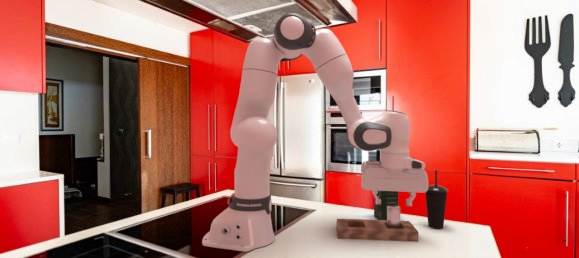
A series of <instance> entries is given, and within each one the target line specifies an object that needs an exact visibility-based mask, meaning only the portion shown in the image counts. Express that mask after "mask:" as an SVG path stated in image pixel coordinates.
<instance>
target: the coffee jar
mask: <svg viewBox="0 0 579 258" xmlns="http://www.w3.org/2000/svg"><path fill="white" fill-rule="evenodd" d="M376 195H377V197H378V198H380V199H381V205H377V204H376V198H375V197H374V207H373V209H374V210H373V217H374V218H375V220H387V206H388V205H396V206H399V203H400V202H399V191H378V194H376Z"/></svg>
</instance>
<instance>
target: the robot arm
mask: <svg viewBox="0 0 579 258" xmlns="http://www.w3.org/2000/svg"><path fill="white" fill-rule="evenodd" d="M302 55H303V56H305V57H306V58H308V59H309V61H310V62H311V64H312V66H313V68H314V71H315V73H316V75H317V76H318V78H319V80H320V82H321V83H322V84H323V86H324V87H325V89H326V90H327V92H328V93H329V94H330V95H331V97H332V98H333V100H334V101H335V103H336V106H337V107H338V110H339V112H340V114H341V116H342V118H343V121H344V123H345V126H346V138H347V141H348V143H349V144H350V146H351V147H353V148H354V149H356V150H361V151H365V152H373V151H376V150H377V151H378V150H379V151H380V152H379V160H373V161H372V160H365V162H362V164H361V165H360V173H361V174H362V175H361V182H360V183H361V184H360V186H361V188H362V189H363V190H365V191H371V192H372V194H373V197H374V199H375V198H376V204H377V205H381V199H380V198H378V197H377V195H376V194H378V191H398V193H399V192H401V193H402V192H406V193H409V195H410V196H409V197H408V198H406V199H405V206H406V207H413V201H414V199H415V198H416V196H417V193H424V194H425V192H427V190H428V186H429V177H428V173H427V171H426V170H425V168H426V163H425V162H424V161H421V160H418V159H416V158H415V157H410V149H409V144H410V143H409V142H410V140H411V129H410V128H411V127H410V126H411V125H410V120H409V116H408V115H407V114H406V113H404V112H402V111H397V110H389V109H387V110H384V111H383V112H382V113H380V114H378V115H377V116H374V117H372V118H369V119H366V118H365V117H364V116H363V114H362V111H361V110H360V109H361V108H360V107H359V105H358V103H357V101H356V99H355V95H354V92H353V91H354V90H353V84H354V75H355V74H354V73H355V72H354V68H353V66H352V63H351V60H350V58H349V56H348V53H347V52H346V50H345V48H344V47H343V45H342V44H341V42H340V40H339V38H338V37H337V36H336V35H335V33H334V32H333V31H332V30H331V29H328V28H319V29H317V30H316V26H315V25H313V24H312V23H311V22H310V21H308V20H307V19H306V18H305V17H303V16H302V15H301V14H299V13H296V12H287V13H285V14H283V15H282V16H280V17H279V19H278V20H276V23H275V25H274V27H273V35H271V36H269V37H267V38H266V37H256V38H254V39H252V40H251V41H250V43H249V44H248V46H247V50H246V52H245V57H244V61H243V65H242V71H241V78H240V79H241V81H240V85H239V86H240V87H239V94H238V98H237V102H236V107H235V110H234V115H233V117H232V118H233V119H232V123H231V127H230V139H231V141H232V143H233V144H234V146H236V147H237V157H236V164H235V168H234V192H233V193H232V194H230V197H228V199H227V202H226V203H227V205H228V207H227V208H226V209H224V210H223V211H222V212H220V213H219V214H218V215H217V216H216V217H215V218H214V219H213V220H212V222H211V223H210V230H209V231H208V232H207V233H206V234H205V235H204V236H203V238H202V241H201V244H202V246H204V247H209V248H215V249H223V250H230V251H231V250H232V251H238V252H246V253H247V252H250V251H252V250H254V249H258V248H263V247H265V246H268V245H270V244H272V243H273V242H275V240H276V235H275V233H274V230H273V224H272V218H271V216H272V215H271V213H272V194H271V193H270V191H271V189H270V188H271V185H270V184H271V181H270V179H271V178H270V172H271V164H272V158H273V154H274V149H275V148H274V147H275V145H276V143H277V142H278V141H277V140H278V137H279V136H278V130H277V128H276V125H274V123H272V121H270V120H269V119H268V116H269V112H270V110H271V108H272V105H273V103H274V100H275V95H276V90H277V89H276V88H277V80H278V72H279V71H278V70H279V66H280V65H279V64H280V63H283V62H289V61H290V62H291V61H295V60H297V59H299V58H301V56H302Z"/></svg>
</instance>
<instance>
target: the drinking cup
mask: <svg viewBox="0 0 579 258" xmlns="http://www.w3.org/2000/svg"><path fill="white" fill-rule="evenodd" d="M448 192H449V189H448V188H446V187H444V185H443V186H442V185H439V184H438V170H434V184H430V185H429V184H428V190H427V192H425V193H424V194H425V202H426V203H425V205H426V215H427V216H426V217H427V224H428V227H429V228H431V229H434V230H443V229H444V226H445V216H446V206H447V196H448Z"/></svg>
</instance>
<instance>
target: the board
mask: <svg viewBox="0 0 579 258" xmlns="http://www.w3.org/2000/svg"><path fill="white" fill-rule="evenodd" d="M336 232H337V239H339V240H361V241H362V240H365V241H386V242H387V241H388V242H409V243H410V242H415V243H418V242H419V231H418V230H417V229H416V227H415V226H414V225H413V224H412V222H411V221H410V220H400V229H397V228H387V220H378V219H361V218H360V219H359V218H336Z"/></svg>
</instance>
